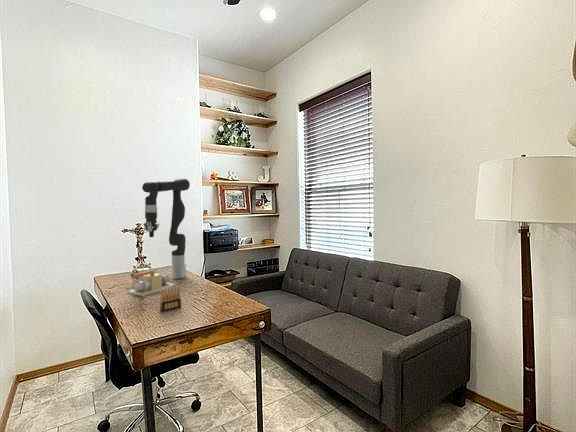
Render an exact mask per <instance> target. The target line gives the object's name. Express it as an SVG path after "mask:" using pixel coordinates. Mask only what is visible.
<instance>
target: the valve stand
mask: <svg viewBox="0 0 576 432" xmlns="http://www.w3.org/2000/svg"><path fill="white" fill-rule="evenodd" d="M170 281H171V277H170V276H169V275H167V274H166V275H163V274H160V273H156V272H155V273H151V274H148V275H144V276H143V281H137V282H135V283H133V289H132V288H131V289H129V290H127V292H126V293H127V294H129V295H135V296H140V297H145V296H147V295H150V294H151V295H152V294H156V293H157V292H161V290H162V289H163V291H164V290H165V288H166V290H168V287H169V289H171V287H173V288H174V287H175V286H176V287H177V284H176V283H171V282H170Z"/></svg>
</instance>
